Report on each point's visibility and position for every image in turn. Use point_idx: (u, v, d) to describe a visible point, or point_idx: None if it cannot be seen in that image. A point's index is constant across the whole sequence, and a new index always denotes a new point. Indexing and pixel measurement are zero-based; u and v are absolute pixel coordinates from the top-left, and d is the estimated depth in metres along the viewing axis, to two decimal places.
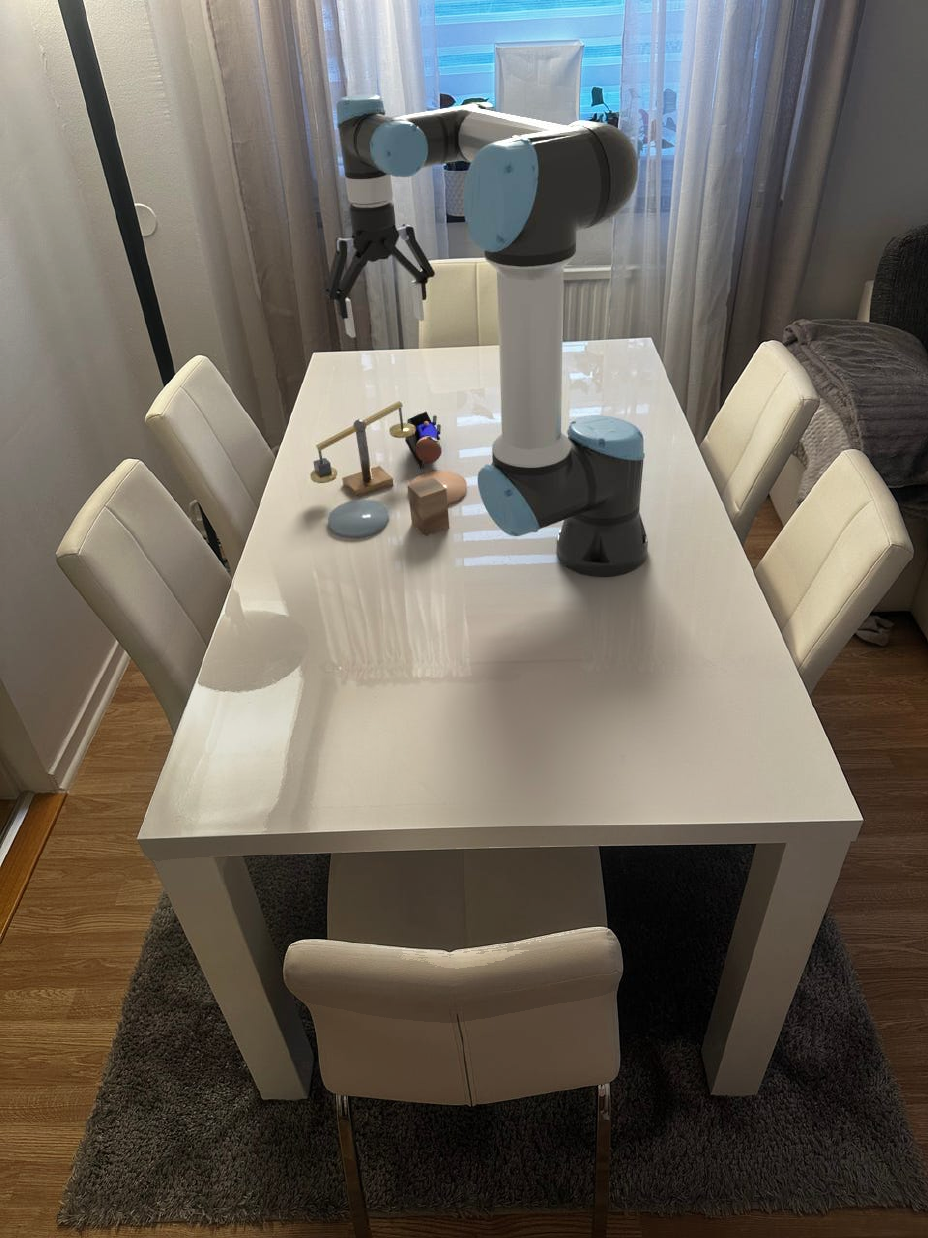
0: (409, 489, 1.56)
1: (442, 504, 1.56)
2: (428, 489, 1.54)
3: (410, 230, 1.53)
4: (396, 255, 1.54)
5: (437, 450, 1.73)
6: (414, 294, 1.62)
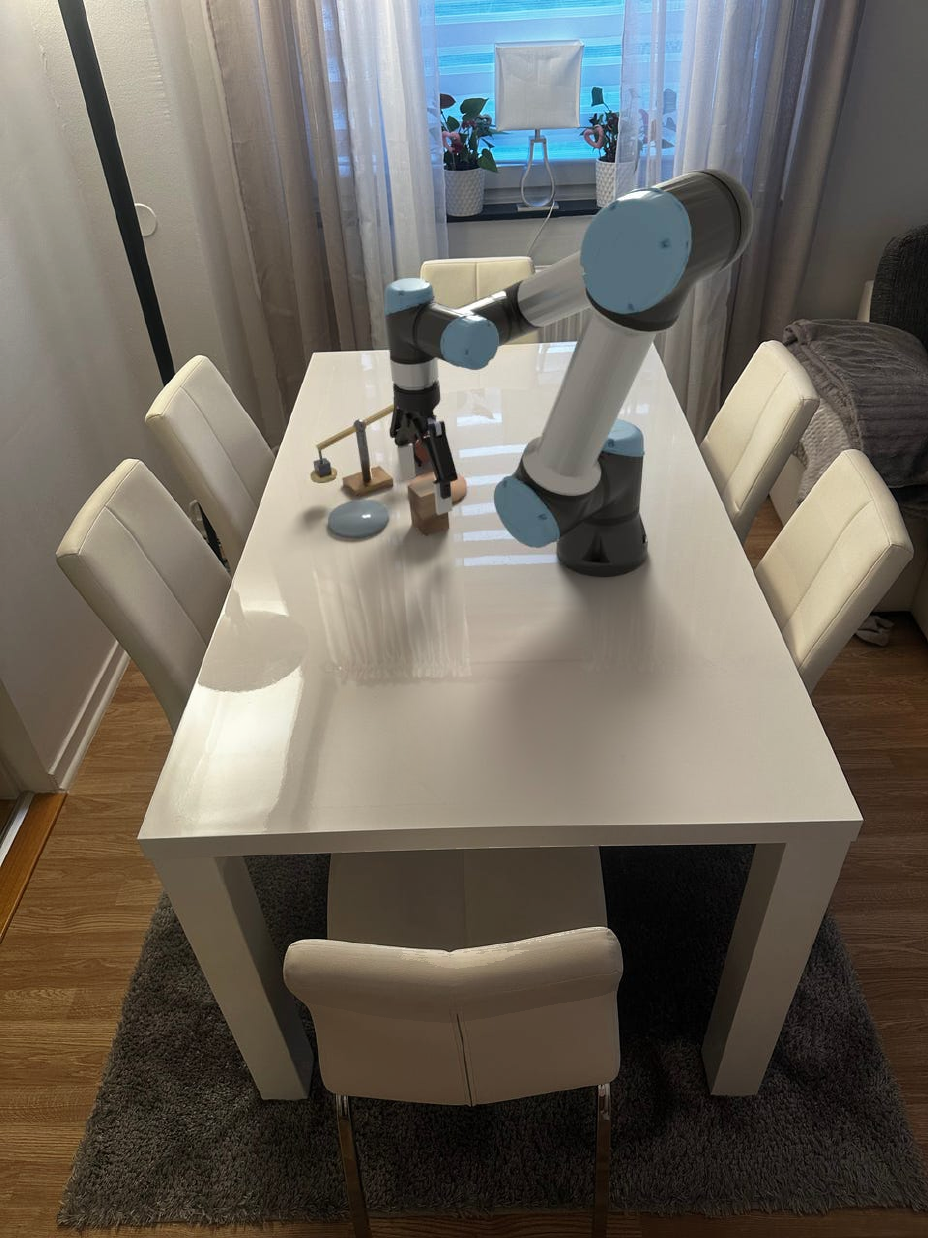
0: (409, 489, 1.56)
1: None
2: (428, 489, 1.54)
3: (429, 428, 1.42)
4: (419, 440, 1.46)
5: None
6: None
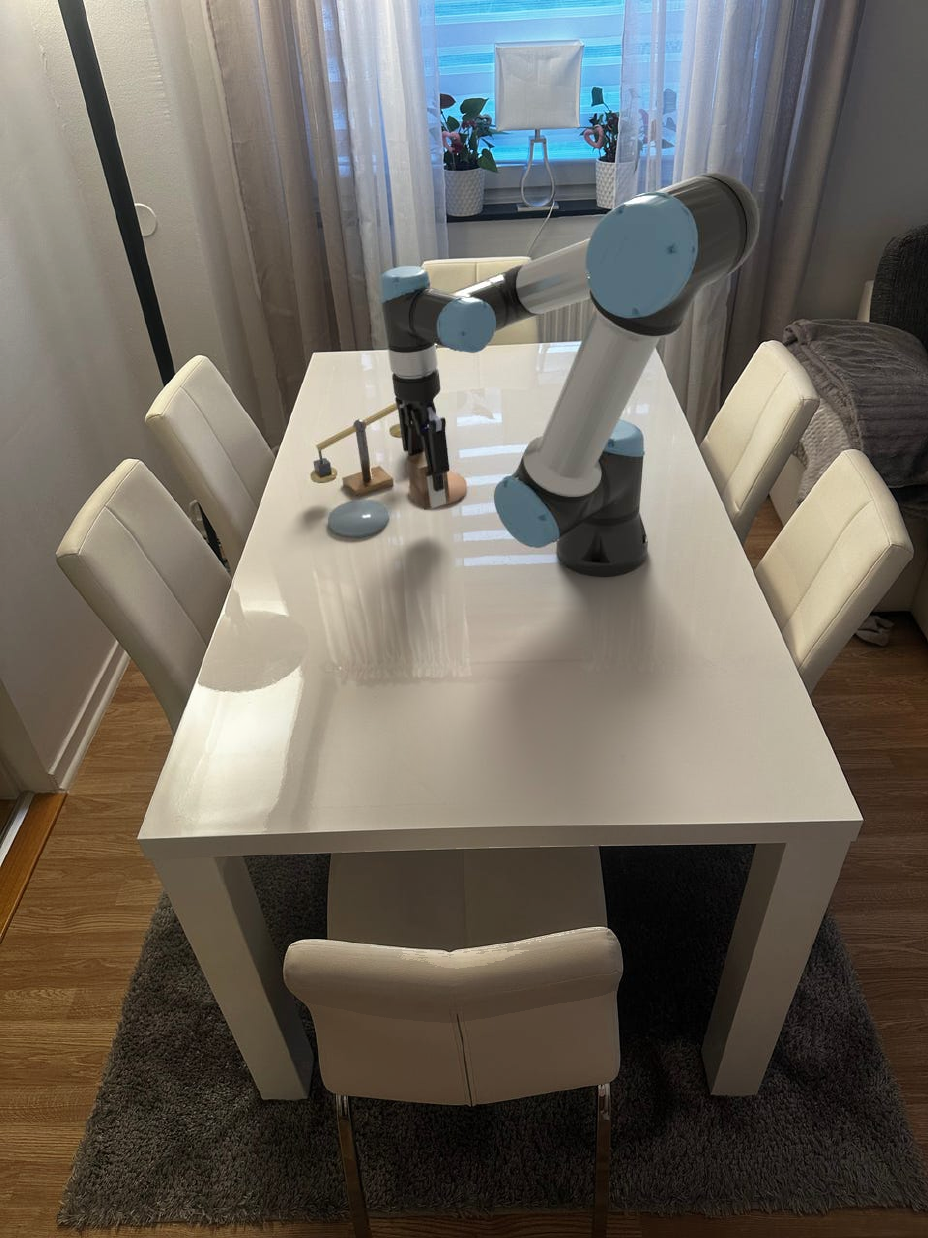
0: (408, 461, 1.52)
1: None
2: None
3: (429, 424, 1.41)
4: (417, 430, 1.46)
5: None
6: None
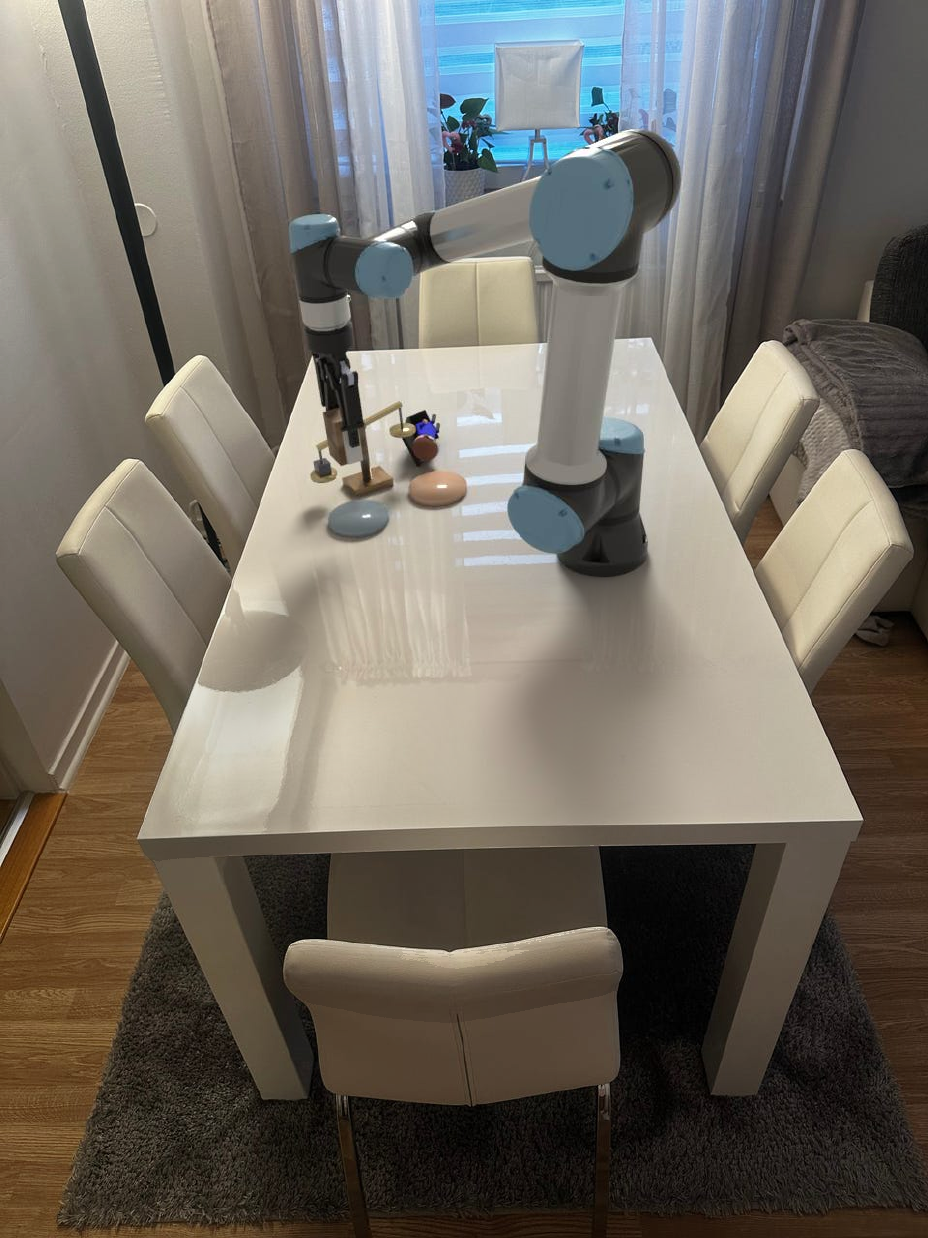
0: (324, 416, 1.50)
1: None
2: None
3: (341, 378, 1.39)
4: (330, 384, 1.44)
5: (433, 448, 1.73)
6: None
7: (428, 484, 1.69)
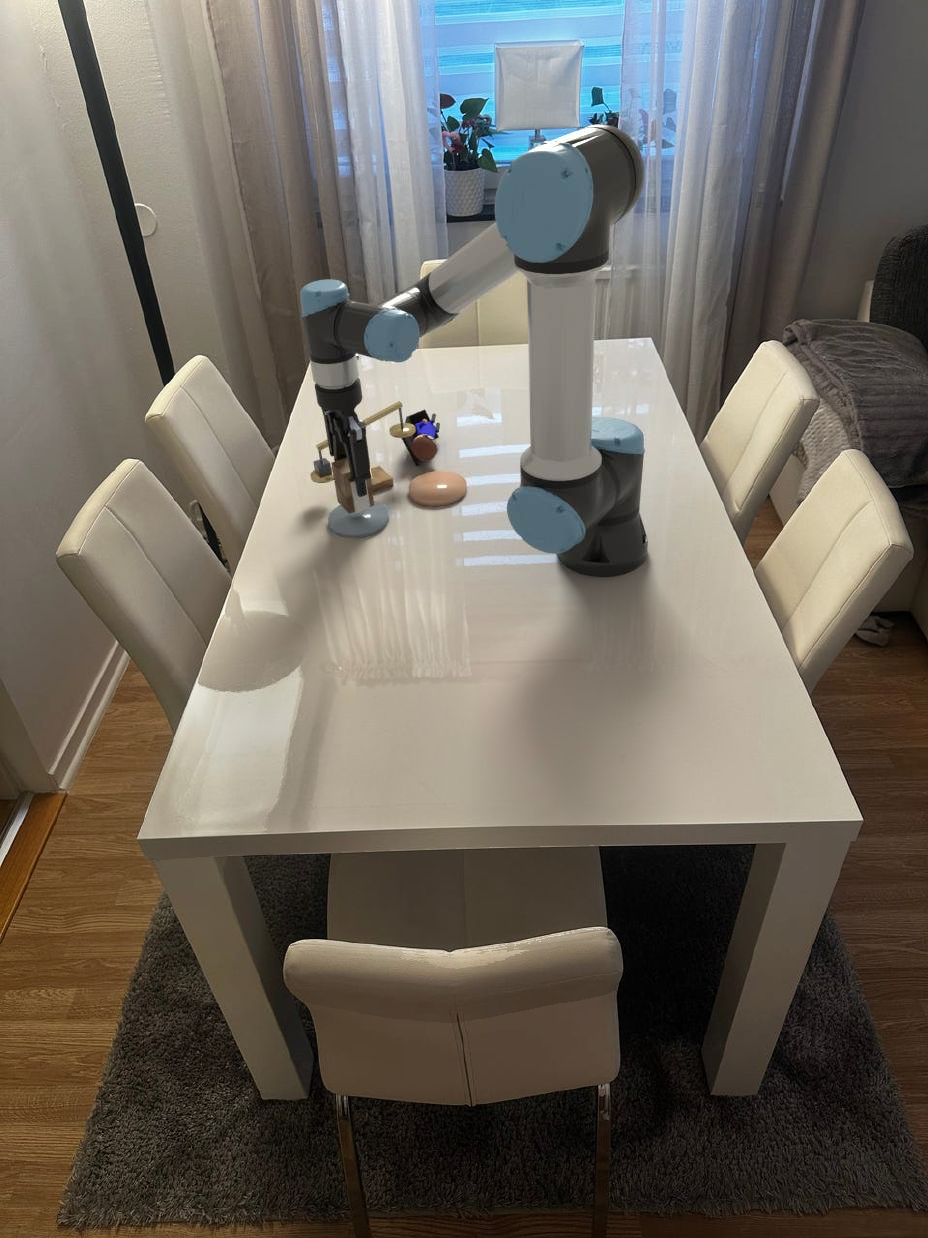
0: (333, 466, 1.56)
1: None
2: None
3: (350, 433, 1.45)
4: (339, 438, 1.50)
5: (432, 448, 1.74)
6: None
7: (428, 484, 1.69)
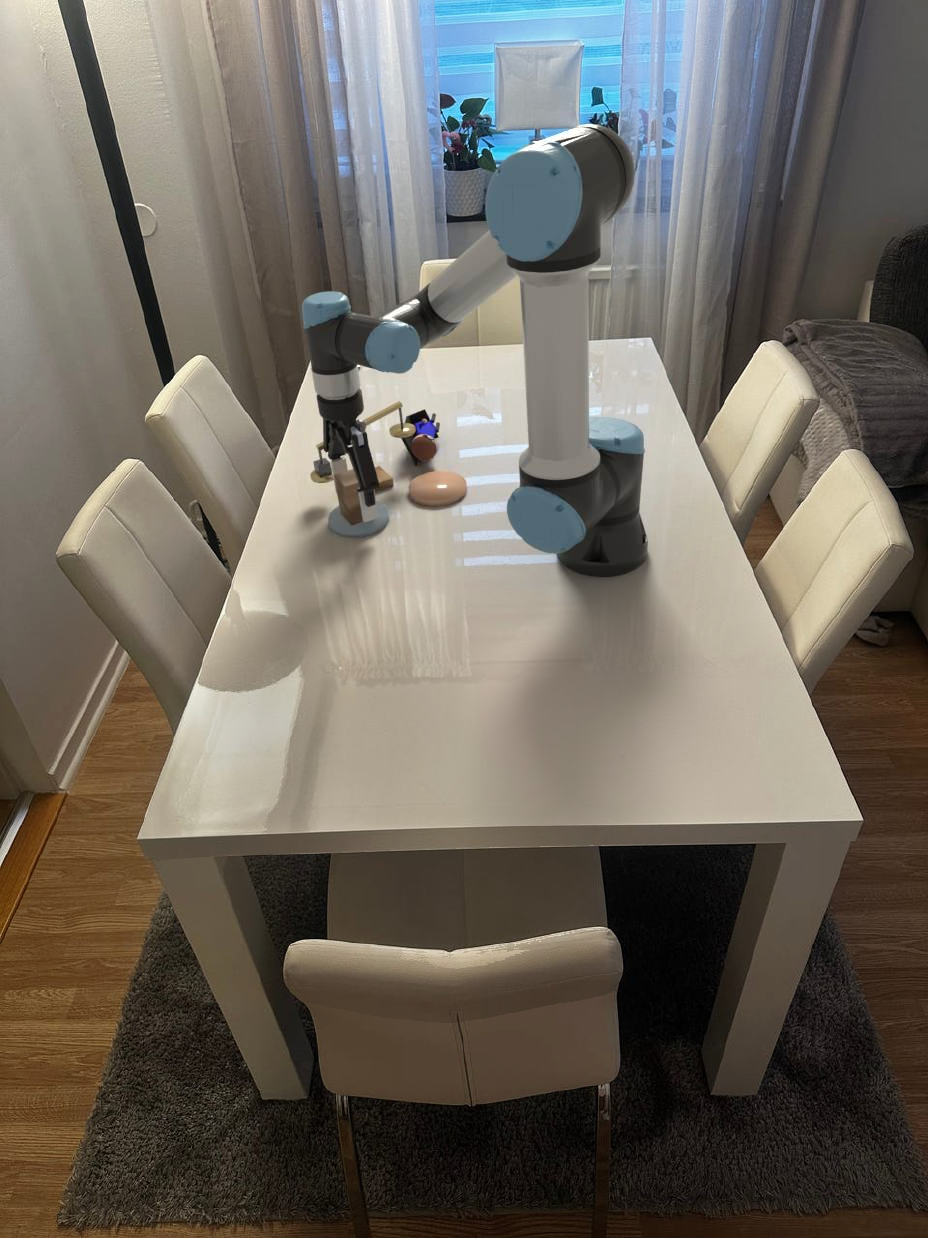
0: (335, 479, 1.58)
1: None
2: (353, 478, 1.56)
3: (351, 438, 1.46)
4: (343, 448, 1.50)
5: (431, 448, 1.74)
6: None
7: (428, 484, 1.69)
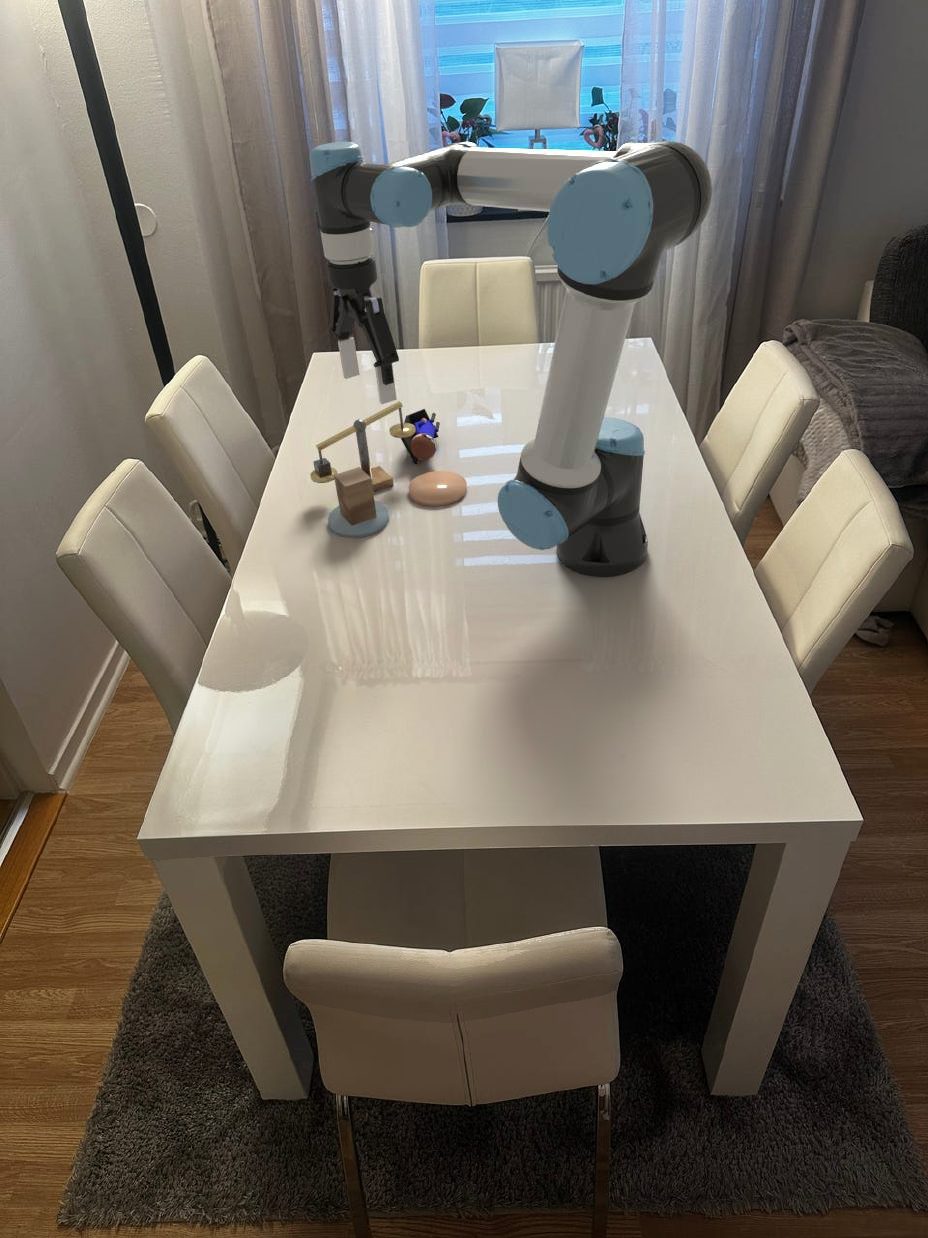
0: (335, 479, 1.58)
1: (368, 494, 1.57)
2: (353, 478, 1.56)
3: (365, 304, 1.35)
4: (357, 322, 1.39)
5: (430, 447, 1.74)
6: None
7: (428, 484, 1.69)
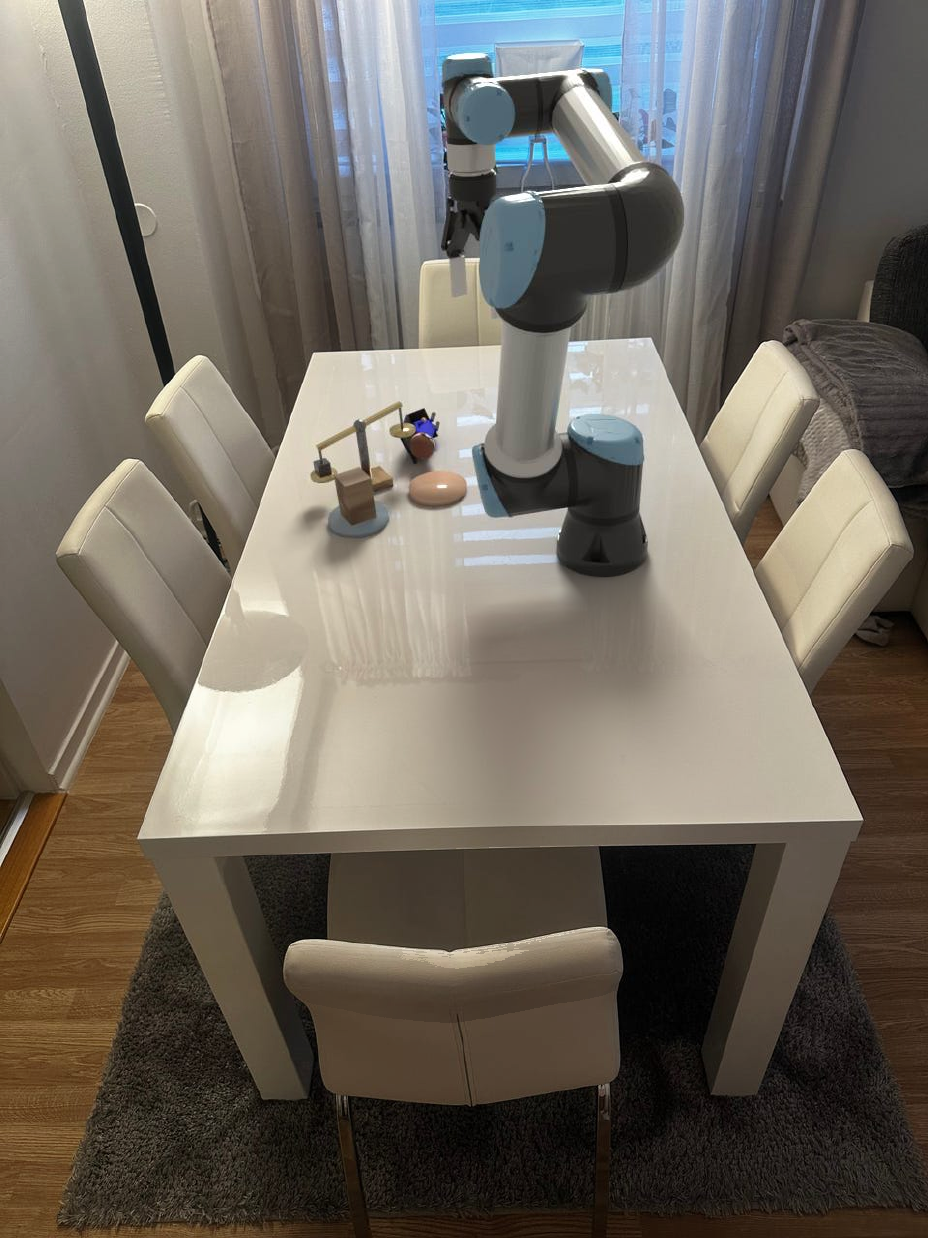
0: (335, 479, 1.58)
1: (368, 494, 1.57)
2: (353, 478, 1.56)
3: None
4: (475, 235, 1.43)
5: (429, 446, 1.74)
6: None
7: (428, 484, 1.69)
